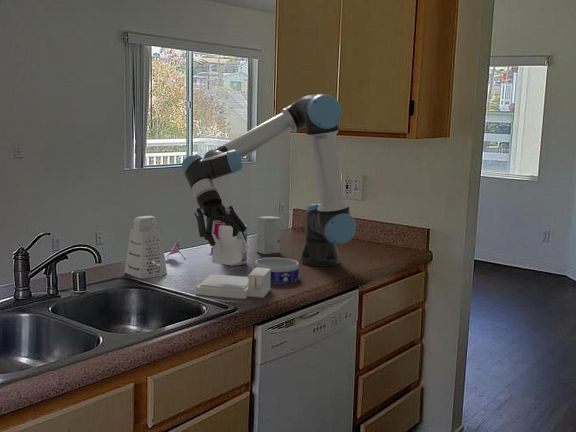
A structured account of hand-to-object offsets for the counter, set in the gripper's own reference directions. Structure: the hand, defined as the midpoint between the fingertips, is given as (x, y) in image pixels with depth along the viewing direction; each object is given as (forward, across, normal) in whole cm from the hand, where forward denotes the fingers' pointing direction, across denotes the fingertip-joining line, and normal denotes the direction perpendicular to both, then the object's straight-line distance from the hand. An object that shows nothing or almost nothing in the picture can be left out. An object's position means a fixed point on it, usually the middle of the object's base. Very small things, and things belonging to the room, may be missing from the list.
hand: (233, 251), depth 204 cm
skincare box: (-20, -47, -39) cm, 65 cm away
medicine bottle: (+1, 0, -5) cm, 5 cm away
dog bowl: (+5, -23, -14) cm, 28 cm away
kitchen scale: (+9, -2, -10) cm, 13 cm away
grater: (-16, +12, -35) cm, 40 cm away
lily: (-25, -7, -44) cm, 52 cm away
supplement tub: (-14, -24, -33) cm, 43 cm away
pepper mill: (-27, -30, -46) cm, 61 cm away
